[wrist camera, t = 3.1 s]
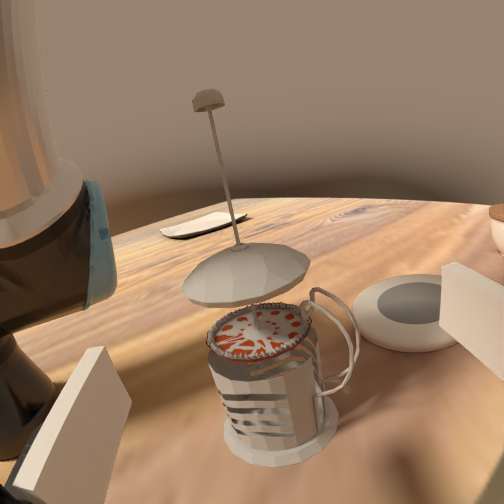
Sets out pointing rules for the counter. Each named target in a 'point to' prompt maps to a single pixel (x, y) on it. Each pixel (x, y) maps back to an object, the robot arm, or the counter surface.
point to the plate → (201, 225)
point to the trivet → (403, 314)
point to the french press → (265, 344)
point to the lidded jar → (497, 226)
